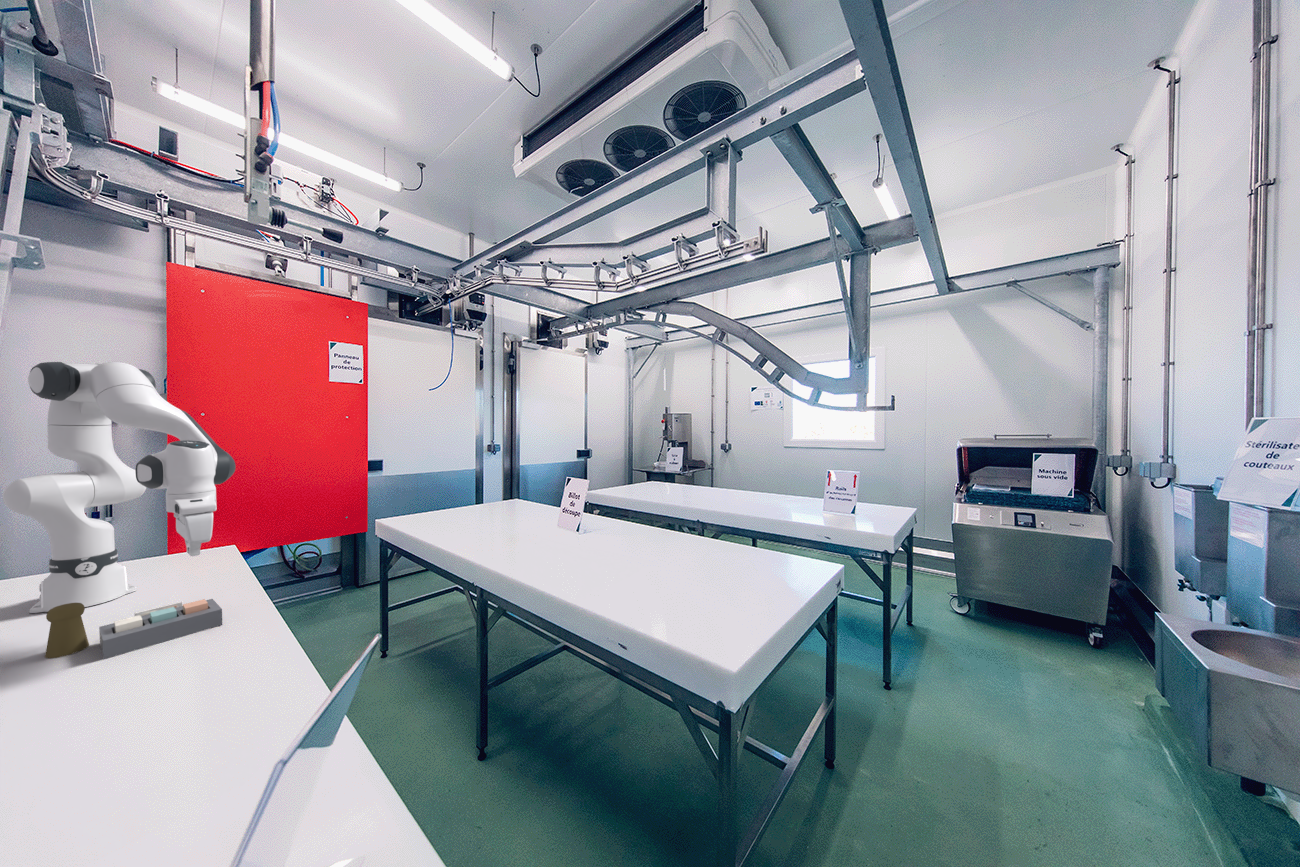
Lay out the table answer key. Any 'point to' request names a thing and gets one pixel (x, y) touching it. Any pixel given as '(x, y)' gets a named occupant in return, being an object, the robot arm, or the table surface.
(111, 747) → the table surface
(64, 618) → the cork
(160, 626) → the keypad
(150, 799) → the table surface
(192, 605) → the terracotta key
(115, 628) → the cream key
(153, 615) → the teal key
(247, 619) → the table surface
